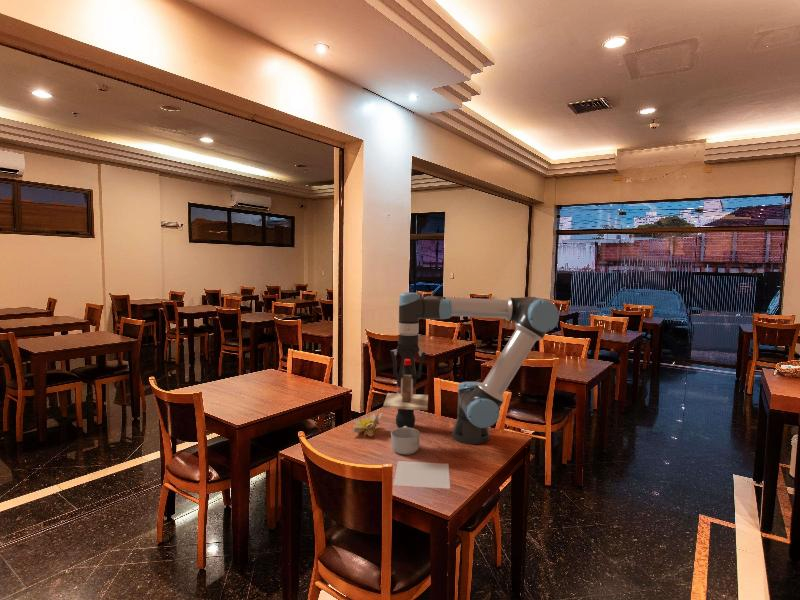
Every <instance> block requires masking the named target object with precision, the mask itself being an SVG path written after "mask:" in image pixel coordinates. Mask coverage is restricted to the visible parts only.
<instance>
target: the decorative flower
mask: <svg viewBox="0 0 800 600" xmlns="http://www.w3.org/2000/svg"><path fill="white" fill-rule="evenodd" d="M382 415H383V414H382V412H380V413H379V412H378V413H377V415H376V414H375V413H372V414H370V415H369V416H368V417H367V416H366V417H362V418H360V419H354V420H353V422H354V423H355V424H354V425H352V427H353V428H355V429H354V430H353V431H352V433H359V432H364V434H363V437H365V436H367V435H368V436H369V437H373V436H374V435H375V431H376V428H377V427H378V425H380V421H381V418H382Z"/></svg>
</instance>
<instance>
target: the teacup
mask: <svg viewBox="0 0 800 600" xmlns="http://www.w3.org/2000/svg"><path fill="white" fill-rule="evenodd" d="M390 436H391V438H390V439H391V447H392V450H393V451H394V452H395V453H397V454H399V455H404V456H408V455H413V454H415V453H416V452H417V451H418V450H419V448H420V431H419V430H418V429H417V428H414V427H413V428H408V427H407V426H404V427H403V428H399V427H397V428H394V429H393V430H391V432H390Z"/></svg>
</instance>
